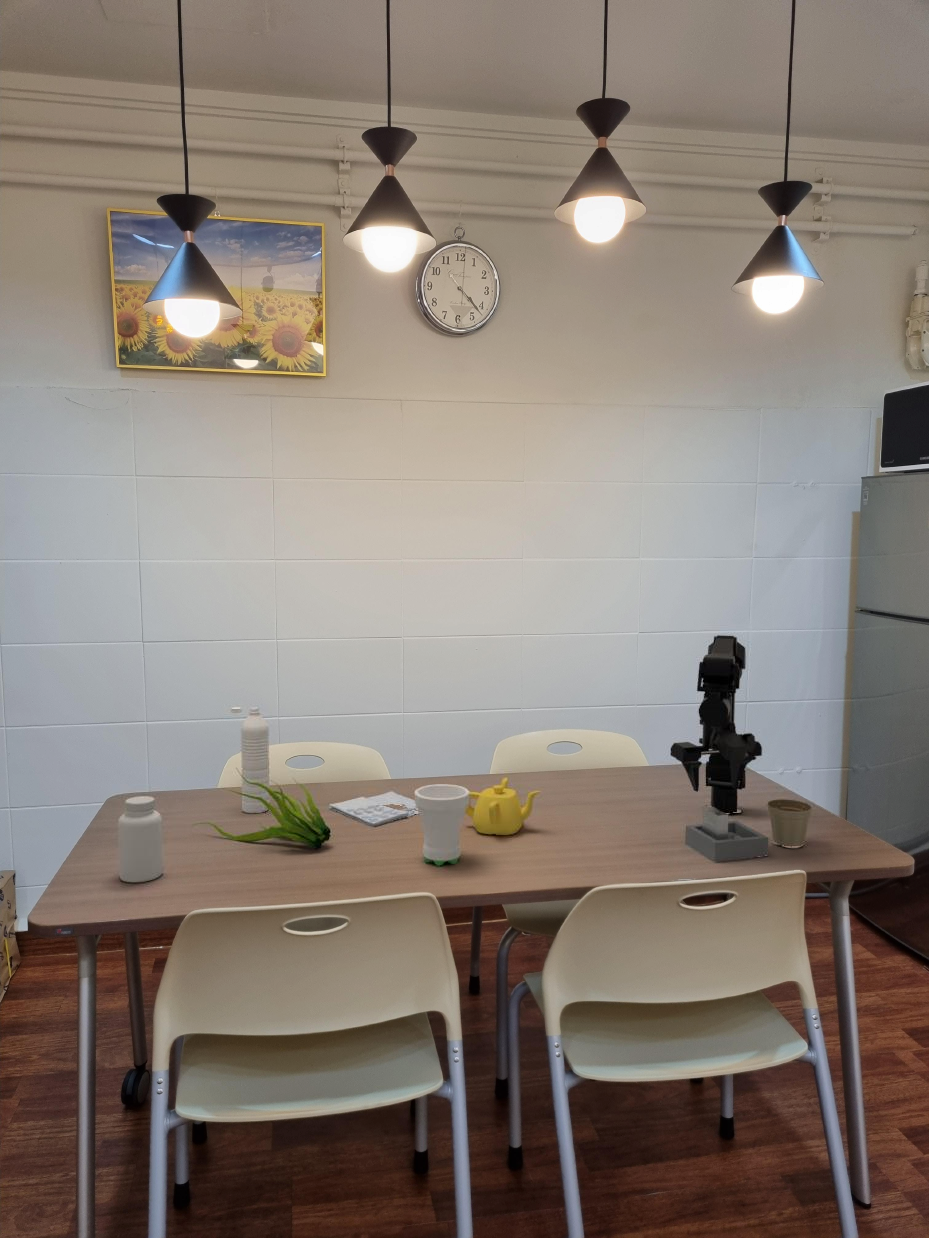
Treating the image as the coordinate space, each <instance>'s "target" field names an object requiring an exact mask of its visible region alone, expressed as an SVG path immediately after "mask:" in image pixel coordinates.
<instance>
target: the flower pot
mask: <svg viewBox="0 0 929 1238" xmlns="http://www.w3.org/2000/svg"><path fill="white" fill-rule="evenodd" d="M765 806H766V807H767V810H768V811H767V812H769V817H770V825H771V826H770V827H771V833H772V841H774V842H775V843H777V844H779V846H780V845H784V846H791V847H792V846H801V845H803V844H804V845H805V842H806V836H807V829H808V824H809V818H810V816H811V814H812V811H813V810H814V806H813V805H812V804H810V803H808V802H806V801H803V800H798V799H790V798H775V799H774V798H773V799H770V800H767V801H766V803H765ZM774 842H773V843H774Z"/></svg>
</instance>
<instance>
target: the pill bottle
mask: <svg viewBox="0 0 929 1238" xmlns="http://www.w3.org/2000/svg"><path fill="white" fill-rule="evenodd" d="M124 805H125V806H124V808H125V809H124V813H123V814H122V815H120V817H119V818H118V821H117V836H118V837H117V841H118V845H117V847H118V849H117V850H118V873H119V878H120V881H122V882H126V883H143V882H148V881H152V880H155V879H157V878H159V877H161V876H162V874H163V871H164V858H163V857H164V855H163V852H164V849H163V847H164V846H163V819H162V815H161V814H160V812H158V811H157V810H154V809H155V806H156V799H155V798H154V797H153V796H148V795H146V796H143V795H142V796H141V795H140V796H134V797H130V798H127V799H126V800H125V802H124Z"/></svg>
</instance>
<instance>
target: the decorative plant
mask: <svg viewBox="0 0 929 1238" xmlns="http://www.w3.org/2000/svg"><path fill="white" fill-rule="evenodd" d="M235 769H236V770H237V772H238V773H239V775H240V776H241V778H242V777H243V776H242V773H241V772H240V771H239V769H238V768H237V767H235ZM243 779H244V780H245V781H246V782H248V783H249V784H253V785H258V786H260V787H262V788H263V789H265V790H266V791H267V792H268V793H269V794H270V797H272V799H273V800H274V801H275V802H276V804H277V806H278V808H279V810H278V809H277V808H276V807H275V806H274V805H272V804H271V802H270V803H268V802H267V801H265V800H264V799H263V798H261V797H255V796H250V795H246V794H243V793H242V792H239V791H236V790H231V789H227V788H223V787H222V789H224V790H227V791H230V792H232V793H236V794H238V795H240V796H242V795H244V796H246V797H249V798H253V799H257V800H260V801H261V802H262V803H263V804H264V805H265V806H266V807H267V808H268V809H269V810H268V811H270V813H272V815H273V816H274V818H275V819H276V821H278V823H279V825H269V827H268V828H267V827H266V826H264V829H263V830H258V831H254V832H251V833H246V834H242V835H237V836H235V835H233V834H230V833H228V832H225V831H224V830H222V828H220V827H219V826H217V824H214V823H212V822H210V821H209V822H208V821H207V822H197V823H195V824H192V825H190V827H193V826H196V825H200V824H201V825H202V824H203V825H204V824H205V825H206V824H207V825H210V826H213V828H215V830H217V831H218V832H219V834H221V835H222V836H224V837H226V838H228V839H231V840H232V841H241V842H252V843H253V842H259V841H265V840H269V839H286V838H287V839H289V840H293V841H295V842H299V843H302V844H305V845H308V846H309V847H312V848H313V849H316V850H320V849H321V848H322V846H323V844H324V843H325V842H329V840H330V837H331V828H330V827H329V826H328V825H327V824H326V823H325V820H324V819H323V817H322V816H321V813H320V810H319V809H318V808H317V807H316V806H315V803H314V800H313V798H312V796H311V794H310V792H309V791H308V790H307V788H306V787H305V786H304V785H302V784H300V783H299V782H297V781H296V779H295V778H294V777H293V778H292V779H293V780H294V781H295V783H296V784H297V785H299V786H300V787H301V788H303V790H304V792H305V794H306V801H307V805H308V808H309V809H308V808H307V806H306V805H305V804H304V802H303V801H302V800H301V799H299V798H297V797H294V796H293V798H294V799H296V800H297V801H299V803H300V804H301V806H302V808H303V812H304V813H305V815H306V816H305V815H304V814H303V812H302V809H301V807H300V805H299V804H298V802H296V801H295V800H294V799H293V798H291V796H289V795H287V794H285V793H284V792H283V789H282V788H281V786H280V785H279V784H277V783H276V782H275V781H273V780H271V779H270V781H271V782H273V784H275V785H276V786H277V787H278V788H279V790H280V791H278V790H272V789H271V788H270V786H269V787H267V786H265V785H263V784H260V783H251V782H249V781H247V780H246V779H245V778H244V777H243ZM287 802H288V803H287ZM280 812H281V813H280ZM308 818H309V819H310V820H309V819H308ZM259 824H262V823H261V821H259Z"/></svg>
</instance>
